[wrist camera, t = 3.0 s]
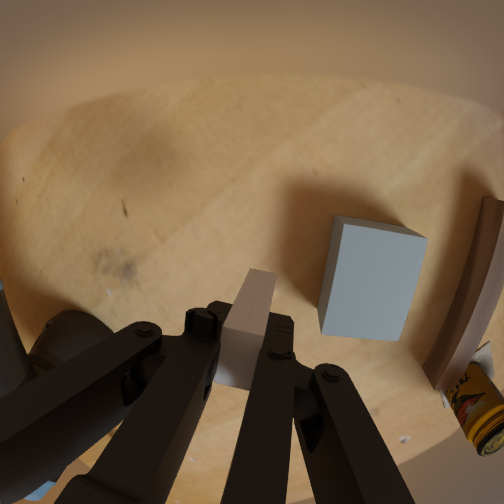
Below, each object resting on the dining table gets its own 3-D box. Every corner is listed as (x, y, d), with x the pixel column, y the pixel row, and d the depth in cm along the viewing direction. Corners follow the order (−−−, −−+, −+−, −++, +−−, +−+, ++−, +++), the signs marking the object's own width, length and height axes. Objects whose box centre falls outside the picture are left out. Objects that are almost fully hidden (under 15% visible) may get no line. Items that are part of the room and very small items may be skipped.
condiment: (435, 377, 28) (472, 446, 16) (489, 340, 26) (538, 396, 14) (444, 408, 29) (473, 470, 17) (493, 375, 27) (531, 429, 15)
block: (316, 307, 27) (321, 334, 23) (334, 214, 25) (344, 223, 20) (383, 315, 27) (398, 341, 22) (405, 226, 24) (427, 238, 20)
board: (422, 368, 28) (433, 389, 24) (483, 196, 22) (506, 201, 18) (441, 369, 27) (453, 389, 23) (501, 205, 22) (524, 210, 18)
